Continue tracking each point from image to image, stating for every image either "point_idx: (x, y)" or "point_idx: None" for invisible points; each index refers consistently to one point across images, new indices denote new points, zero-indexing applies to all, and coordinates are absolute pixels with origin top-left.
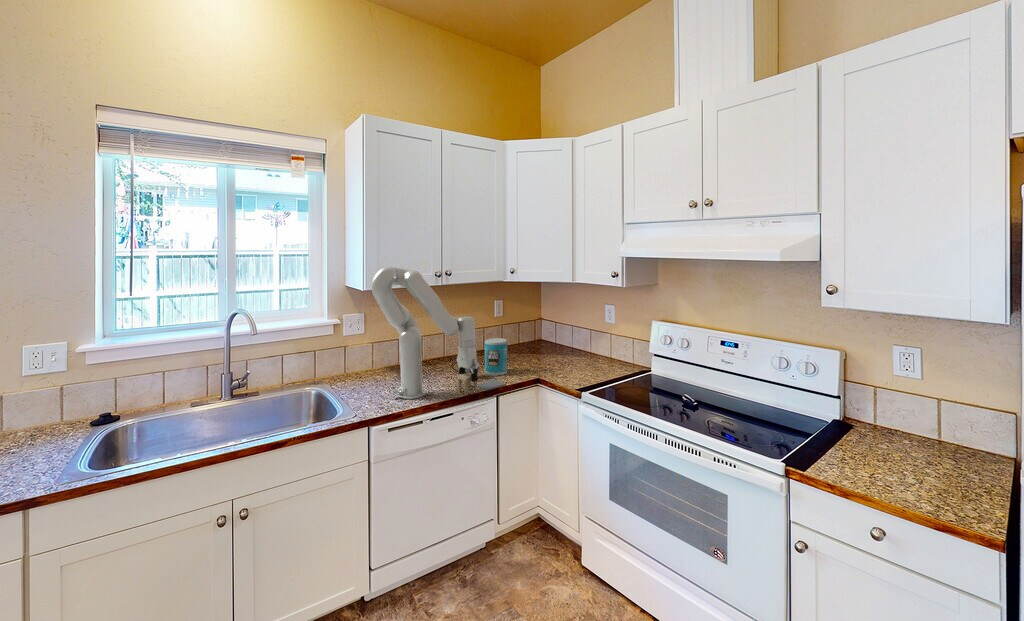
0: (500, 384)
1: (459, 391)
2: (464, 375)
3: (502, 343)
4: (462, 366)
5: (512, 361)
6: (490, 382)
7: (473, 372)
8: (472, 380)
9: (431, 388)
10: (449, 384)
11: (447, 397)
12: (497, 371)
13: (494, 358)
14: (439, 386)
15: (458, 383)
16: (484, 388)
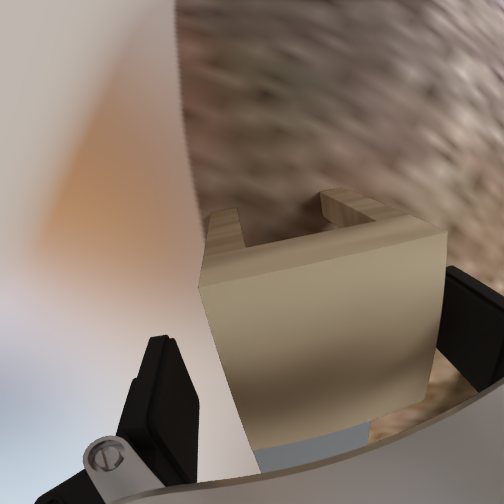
0: (271, 468)
1: (321, 192)
2: (361, 322)
3: None
4: (463, 426)
5: None
6: (342, 440)
7: (85, 458)
8: (151, 352)
9: (485, 62)
10: (497, 209)
11: (231, 33)
12: None
13: None
14: (498, 128)
15: (369, 203)
16: None
